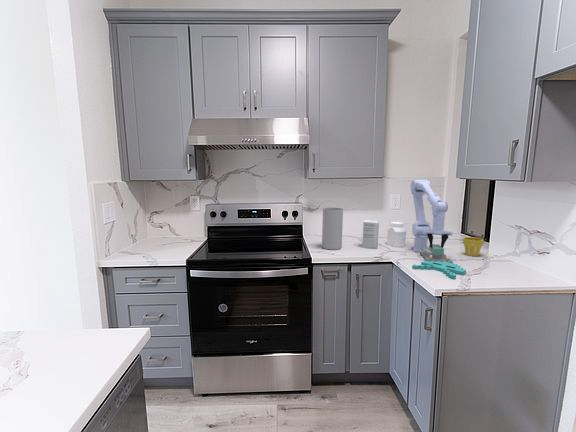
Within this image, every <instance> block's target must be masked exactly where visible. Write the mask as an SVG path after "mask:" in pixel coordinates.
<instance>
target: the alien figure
mask: <svg viewBox="0 0 576 432" xmlns="http://www.w3.org/2000/svg"><path fill="white" fill-rule="evenodd" d="M411 267H412V269H413V270H415V271H416V270H421V271H424V270H426V271H431V270H432V271H437V272H440V273H442V274H444V275H445V276H446V277H447V278H448V279H449V278H450V280H456V278H457V275H459V276H464V275H466V274H467V269H464V267H461V265H458V263H454V262H453V263H450V262H445V261H444V262H440V261H437V262H435V261H430V262H429V261H425V260H423V261H421V263H420V264H415V263H414V264H412V265H411Z"/></svg>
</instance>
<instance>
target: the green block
mask: <svg viewBox="0 0 576 432" xmlns="http://www.w3.org/2000/svg"><path fill="white" fill-rule="evenodd" d="M428 251H430V253H433V254H434V255H444V254H445V248H444V247H443V248H442V247H441V244H437V243H435V244H434V243H432V248H431V247H430V244H429V245H428Z"/></svg>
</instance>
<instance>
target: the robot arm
mask: <svg viewBox="0 0 576 432" xmlns="http://www.w3.org/2000/svg"><path fill="white" fill-rule="evenodd" d="M410 192H411V195H413V204H414V210H415V219H416V221H415V222H414V223H413V224H412V230H411V233H412V235H413V236H414V241H413V247H412V250H413V251H414V253H415V252H416V253H420V252H424V249H427V251H426V252H429V249H428V241H429V245H430V247H431V248H432V244H433V241H434V236H433V235H435V236H436V235H437V236H440V237H441V241H440V246H441V247H442V248H444V246H445V244H446V242H447V240H448V239H449V238H450V237H451V236H453V231H448V230H447V231H446V230H445V219H446V212H448V209H449V205H448V202H447V201H444V200H442V199H441V197H440V196H439V194H438V193H435V192H434V191H433V190H432V188H431V182H430V180H429V179H412V181H411V182H410ZM424 195H426V196H427V201H428V203H429V204H430V205H431V211H432V227H431V224H430V222H428V221H427V220H426V215H425V205H424V199H423V196H424ZM449 236H450V237H449Z"/></svg>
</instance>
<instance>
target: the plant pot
mask: <svg viewBox="0 0 576 432" xmlns="http://www.w3.org/2000/svg"><path fill="white" fill-rule="evenodd" d="M462 243H463V247H464V253H465V256H469V257H470V256H471V257H479V256H480V253H481V249H482V247H483V246H484V239H483V238H480V237H474V236H473V237H472V236H464V237H463V238H462Z"/></svg>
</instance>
